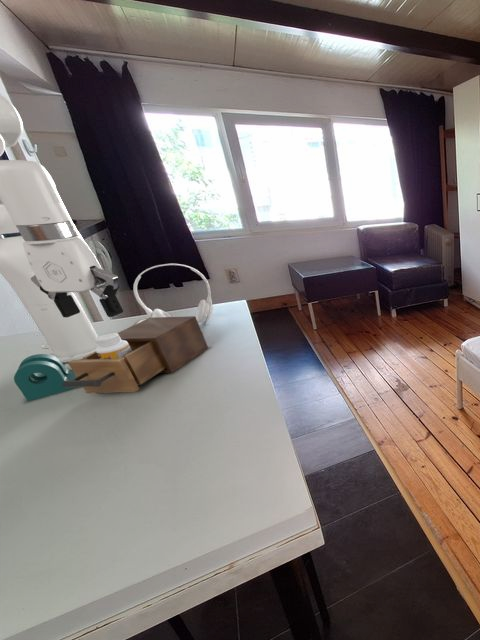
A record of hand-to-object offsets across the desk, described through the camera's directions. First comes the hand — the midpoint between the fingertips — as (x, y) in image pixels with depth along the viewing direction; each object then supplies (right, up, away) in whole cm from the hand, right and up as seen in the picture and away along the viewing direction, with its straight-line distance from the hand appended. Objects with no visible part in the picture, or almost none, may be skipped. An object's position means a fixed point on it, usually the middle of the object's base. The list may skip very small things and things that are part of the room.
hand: (94, 314), depth 78 cm
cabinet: (+1, -10, +18) cm, 20 cm away
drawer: (+1, -15, +6) cm, 16 cm away
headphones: (-9, 0, +39) cm, 40 cm away
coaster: (-26, +2, +44) cm, 51 cm away
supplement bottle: (+1, -14, +7) cm, 15 cm away
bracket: (-13, -15, +10) cm, 22 cm away
